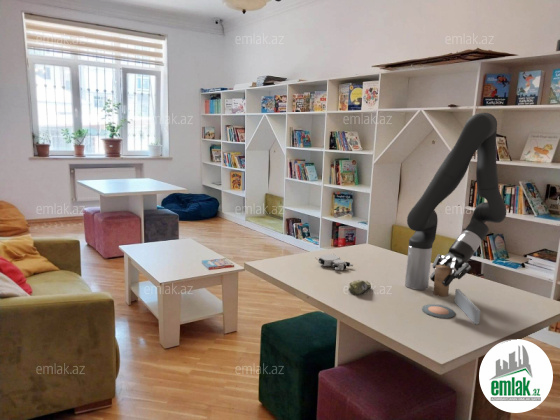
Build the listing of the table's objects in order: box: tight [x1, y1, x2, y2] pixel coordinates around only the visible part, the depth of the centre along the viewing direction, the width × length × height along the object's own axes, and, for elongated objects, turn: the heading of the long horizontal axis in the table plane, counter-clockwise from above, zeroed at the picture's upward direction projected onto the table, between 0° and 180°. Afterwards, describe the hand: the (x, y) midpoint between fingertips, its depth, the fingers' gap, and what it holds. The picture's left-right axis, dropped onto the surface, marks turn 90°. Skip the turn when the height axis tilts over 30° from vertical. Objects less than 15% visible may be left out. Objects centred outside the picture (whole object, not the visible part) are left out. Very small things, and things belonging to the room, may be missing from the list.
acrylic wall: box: [453, 288, 481, 325], centre depth 152 cm, size 20×1×5 cm, turn 177°
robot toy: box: [314, 253, 354, 271], centre depth 200 cm, size 12×4×15 cm
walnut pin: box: [432, 265, 451, 298], centre depth 150 cm, size 5×5×10 cm
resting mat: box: [421, 303, 456, 319], centre depth 152 cm, size 11×11×1 cm
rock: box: [348, 279, 372, 296], centre depth 170 cm, size 11×6×10 cm
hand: (438, 282), depth 149 cm, fingers closed on walnut pin, 5 cm apart
